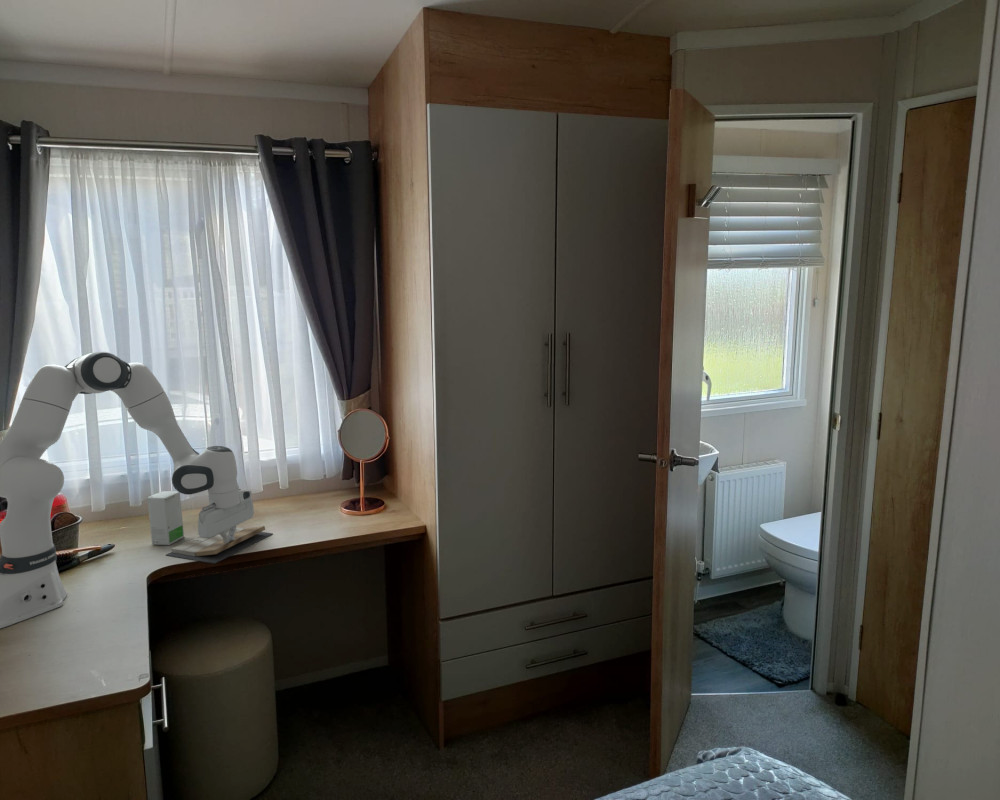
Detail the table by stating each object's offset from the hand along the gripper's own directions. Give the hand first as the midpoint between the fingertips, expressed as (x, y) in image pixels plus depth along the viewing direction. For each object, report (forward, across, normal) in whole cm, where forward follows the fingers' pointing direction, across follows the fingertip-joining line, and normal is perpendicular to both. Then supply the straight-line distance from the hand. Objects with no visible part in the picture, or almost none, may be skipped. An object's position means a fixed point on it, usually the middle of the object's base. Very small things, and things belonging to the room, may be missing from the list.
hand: (229, 541), depth 221 cm
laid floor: (+3, +4, +11) cm, 12 cm away
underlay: (+3, +4, +7) cm, 8 cm away
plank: (+2, +4, +2) cm, 5 cm away
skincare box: (+3, 0, +26) cm, 26 cm away
